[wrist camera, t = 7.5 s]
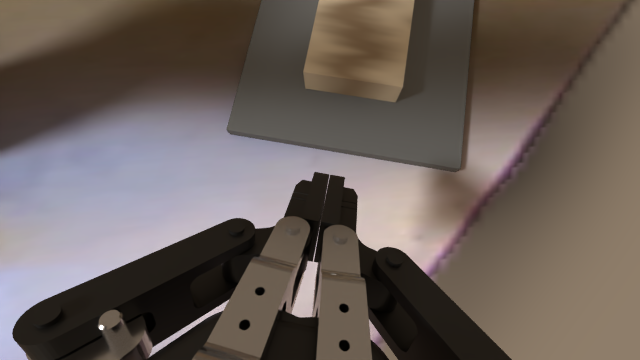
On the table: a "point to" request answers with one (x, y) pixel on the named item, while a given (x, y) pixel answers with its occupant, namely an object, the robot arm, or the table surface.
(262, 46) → the mat
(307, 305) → the table surface
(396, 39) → the wooden block
